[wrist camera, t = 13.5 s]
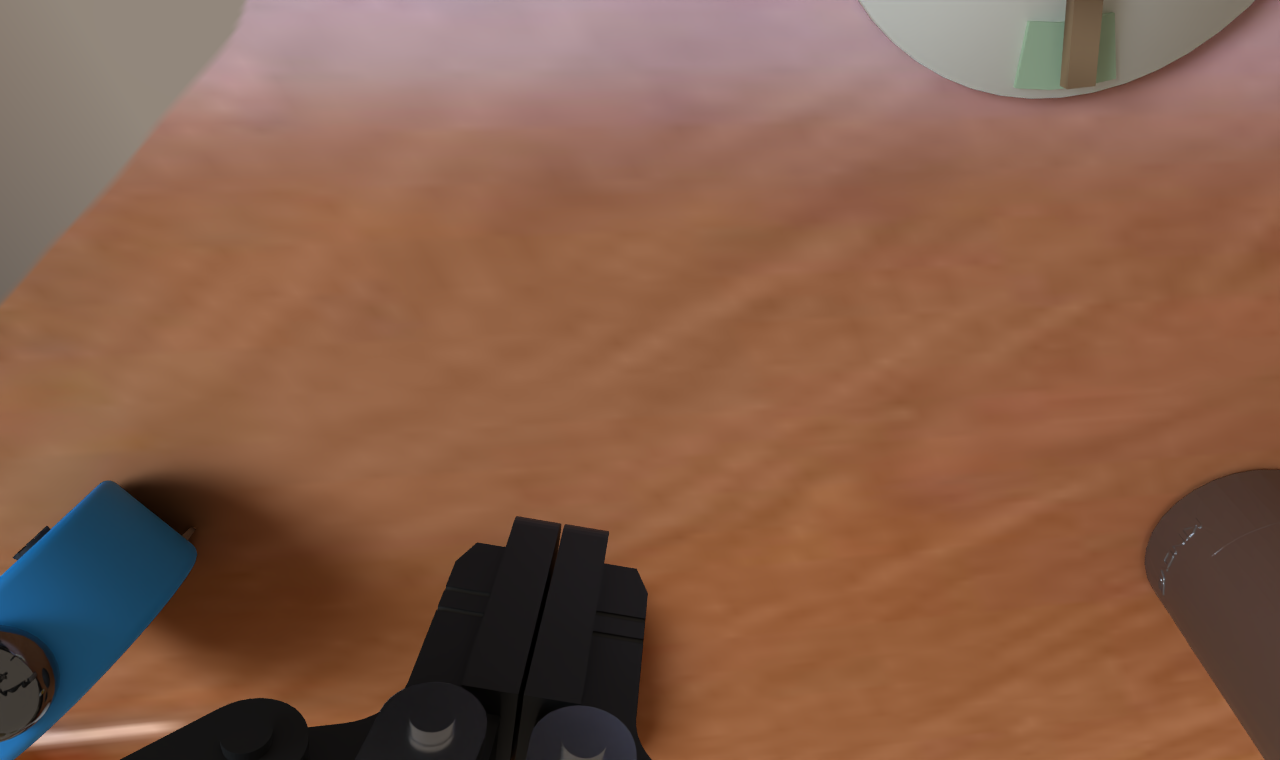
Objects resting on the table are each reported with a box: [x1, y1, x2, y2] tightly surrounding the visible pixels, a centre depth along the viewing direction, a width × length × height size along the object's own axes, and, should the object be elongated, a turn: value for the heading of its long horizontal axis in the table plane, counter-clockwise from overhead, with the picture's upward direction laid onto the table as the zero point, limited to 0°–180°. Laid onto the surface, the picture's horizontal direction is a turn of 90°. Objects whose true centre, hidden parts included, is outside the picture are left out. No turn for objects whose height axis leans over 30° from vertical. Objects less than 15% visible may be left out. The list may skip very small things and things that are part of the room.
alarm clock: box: [0, 481, 197, 760], centre depth 43 cm, size 13×6×15 cm, turn 131°
